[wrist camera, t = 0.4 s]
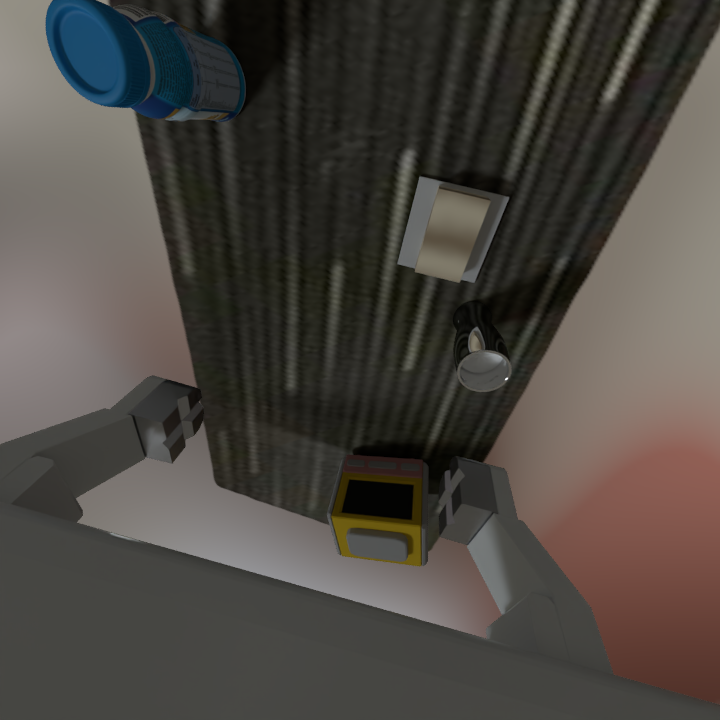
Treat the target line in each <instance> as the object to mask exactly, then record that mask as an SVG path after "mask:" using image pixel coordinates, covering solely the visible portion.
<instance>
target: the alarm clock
mask: <svg viewBox="0 0 720 720" xmlns="http://www.w3.org/2000/svg"><path fill="white" fill-rule="evenodd" d="M428 468H429V467H428V465H427V464H426V463H425V462H423V460H419V459H413V458H411V459H404V458H390V457H375V456H361V455H347V456H346V457H344V458H343V459H342V460H341V464H340V468H339V472H338V475H337V479H336V483H335V486H334V490H333V494H332V497H331V501H330V505H329V509H328V512H327V517H328V521H329V524H330V527H331V531H332V535H333V538H334V542H335V545H336V549H337V552H338V554H339V555H341V554H342V556H345V557H353V558H361V559H368V560H376V561H383V562H391V563H399V564H406V565H413V566H421V565H422V566H424V565H426V563H427V561H428Z"/></svg>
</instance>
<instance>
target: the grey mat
mask: <svg viewBox="0 0 720 720" xmlns="http://www.w3.org/2000/svg"><path fill="white" fill-rule="evenodd" d="M438 186H443V187H448V188H452V189H456V190H460V191H465V192H469V193H473V194H477V195H482V196H486V197H488V198H489V199H490V200H491V202H490V204H489V207H488V210H487V212H486V215H485V217H484V220H483V223H482V225H481V228H480V231H479V233H478V236H477V238H476V241H475V244H474V246H473V249H472V251H471V254H470V257H469V259H468V262H467V264H466V267H465V270H464V272H463V275H462V277H461V280H465V281H469V282H475V280H476V278H477V275H478V273H479V270H480V268H481V265H482V263H483V261H484V258H485V256H486V253H487V251H488V248H489V246H490V243H491V241H492V239H493V236H494V234H495V231H496V229H497V226H498V224H499V222H500V219H501V217H502V214H503V212H504V209H505V207H506V205H507V202H508V200H509V197H508V196H503V195H499V194H495V193H490V192H486V191H482V190H478V189H473V188H469V187H465V186H460V185H456V184H452V183H448V182H443V181H439V180H435V179H430V178H426V177H422V176H420V178H419V182H418V186H417V190H416V194H415V197H414V201H413V205H412V209H411V213H410V217H409V221H408V225H407V229H406V233H405V236H404V240H403V244H402V248H401V252H400V256H399V260H398V264H400V265H404V266H408V267H412V268H415V265H416V262H417V258H418V255H419V251H420V248H421V245H422V241H423V238H424V234H425V231H426V227H427V224H428V220H429V217H430V214H431V210H432V207H433V203H434V200H435V196H436V193H437V189H438Z"/></svg>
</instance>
